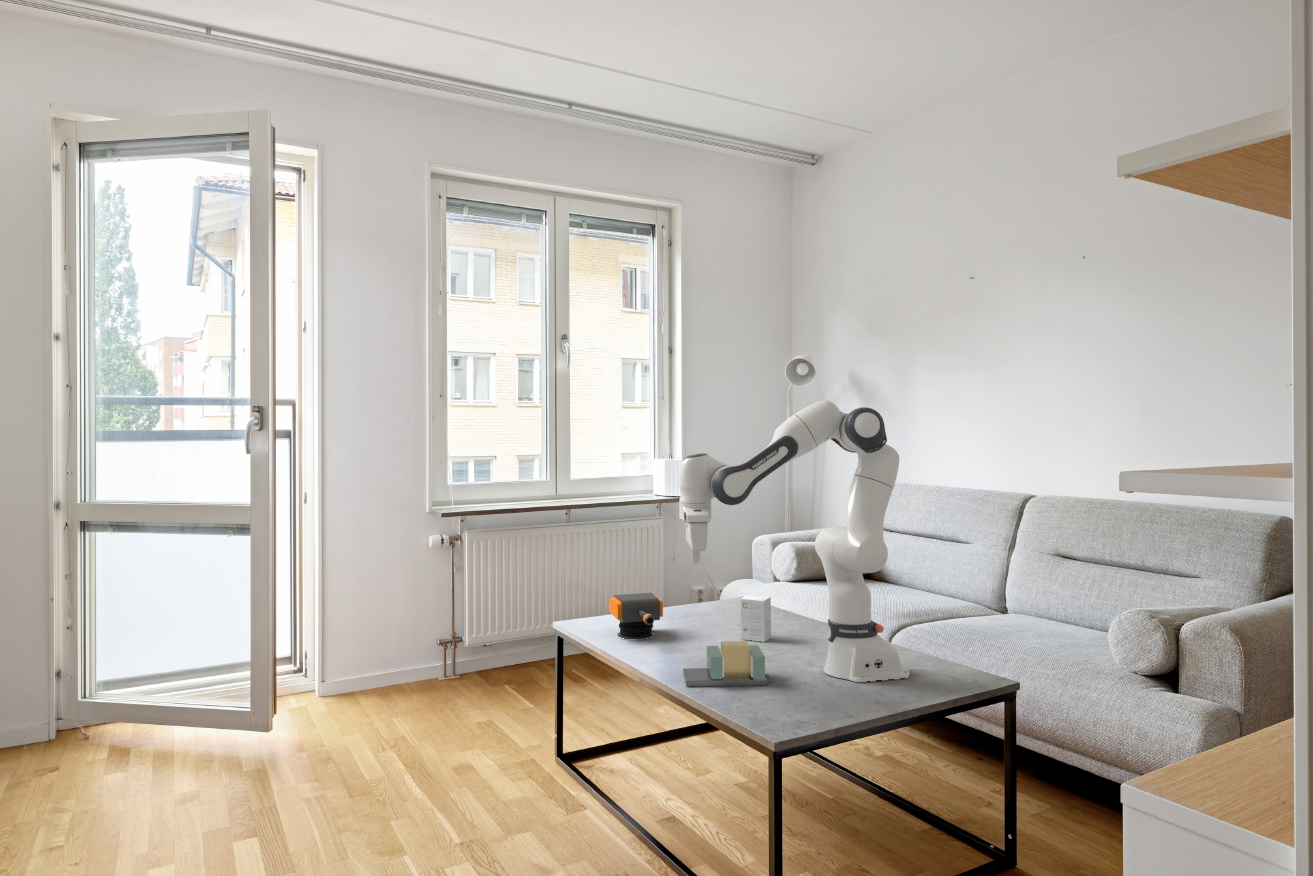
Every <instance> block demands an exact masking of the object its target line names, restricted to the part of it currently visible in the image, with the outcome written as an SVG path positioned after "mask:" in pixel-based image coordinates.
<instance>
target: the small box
mask: <svg viewBox="0 0 1313 876" xmlns="http://www.w3.org/2000/svg"><path fill="white" fill-rule="evenodd" d="M771 604H772V602H771V597H770V596H761V595H759V596H758V595H747V594H746V595H745V596H743V597H742V598H740V640H741V639H742V641H743V640H744V641H750V640H752V642H753V641H754V642H759V641H761V643H766V642H767V641H769V640H770V639H772V606H771ZM765 641H766V642H765Z"/></svg>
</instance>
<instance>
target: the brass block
mask: <svg viewBox="0 0 1313 876" xmlns="http://www.w3.org/2000/svg"><path fill="white" fill-rule="evenodd" d="M749 645H750V644H749V642H748V640H744V641H743V640H742V641H740V640H738V641H737V640H735V641H733V640H732V641H720V649H721V652H722V654H723V657H724V676H750V660H749Z"/></svg>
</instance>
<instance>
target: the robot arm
mask: <svg viewBox="0 0 1313 876" xmlns="http://www.w3.org/2000/svg"><path fill="white" fill-rule="evenodd" d="M885 425H886V424H885V421H884V419H883V416H882V415H881V414H880V412H878V411H877V410H875V409H874V408H872V407H865V406H864V407H863V406H862V407H857V408H855V409H853V410H852V411H850V412H849V413H845V412H842V411H841V410H840V409H839V407H838V406H837V404H835V403H834V402H832V401H830V400H826V399H821V400H819V401H817V402H814V403H812V404H810V405H808V406H806V407H804V408H802V409H801V410H799V411H797V412H796V413H794V414H793V415H791V416H789V417H788V418H787V419H785V420H784V421H783V422H782V423H781V424H780V425H779V426H778V427H776V429H775V430H774V433H773V436H772V439H771V441H770V443H769V444H767V446H766V447H765V448H763V449H762V450H760V451H759V452H758V453H756V454H755V455H753V456H752V457H751V458H749V459H748V460H746V461H744V463H741V464H738V465H734V466H733V465H729V464H726V463H723V462H721V461H719V460H717V459H715V458H713V457H712V456H710V455H709V454H708V453H703V452H702V453H695V454H690V455H688V456H687V455H686V456H685V457H684V458H683V459H682V460H681V462H680V465H679V477H678V481H679V482H678V486H679V490H680V498H679V500H678V501H679V503H678V504H679V506H678V507H679V509H678V510H679V513H678V515H679V516H678V517H679V520H682V521H683V525H684V526H685V541H686V542H687V544H688V546H690V552H691V562H692V563H693V564H694V565H695V564H699V563H700V555H701V552H704V551H706V549H707V544H708V543H707V542H708V530H709V524H708V523H711V520H712V500H713V499H715V498H716V500H717V501H719V502H720V503H722V504H724V505H728V506H736V505H739V504H741V503H743V502H744V501H745V500H746V499H747V498H748V497H749V495H750V494H751V492H752V491H753V489H754V488H755V487H756V485H757V484H758V483H759V482H760V481H762V480H763V479H765V478H766V477H767V476H769V475H770V474H772V473H773V472H774V471H776V470H777V469H779V468H780V467H782V466H783V465H785V464H787V463H789V462H791V461H794V460H796V459H798V458H800V457H803V456H804V455H806V454H807V453H810V452H812V451H813V450H815V449H816V448H818V447H819V446H821V445H822V444H823V443H825V442H827V441H829V440H832V442H834V443H835V444H836V445H838V446H839V447H840V448H841V449H842V450H845V451H846V452H847V453H848V452H849V453H856V454H857V467H856V469H855V471H854V474H853V477H852V480H851V483H850V485H849V488H848V491H847V494H846V496H845V500H844V506H845V508H846V511H847V522H846V527H845V526H831V527H827V528H824V529H822V530H821V531H820V532H819V533H818V534H817V536H816V538H815V540H814V550H815V552H816V554H817V556H818V557H819V559H820V561H821V564H822V567H823V569H824V575H825V578H826V583H827V589H828V604H829V605H828V607H829V609H828V610H829V611H828V612H829V614H828V615H829V618H828V619H827V629H826V631H827V640H828V646H827V654H826V659H825V663H824V666H823V669H822V670H823V672H824V673H825V674H827V675H829V676H831V677H835V678H838V679H844V680H847V681H848V680H849V681H853V682H854V683H855V682H856V683H867V681H870V682H877V681H876V680H882V681H889V680H888V679H894V680H901V679H900V678H906V679H909V678H910V676H909V675H910V670H909V669H908V668H907V667H906V666H905V665H903V664H902V663H901V658H900V654H899V652H898V650H897V649H896V647H894V646H893V645H892V644H890V642H889V641H887V640H886V639H885V638H883V637H882V636H880V635H879V633H880V634H881V633H883V632H884V630H885V627H884V626H883V625H882V624H881V623H877V622H875V621H874V620H872V594H871V593H872V592H871V590H870V588H869V586H868V585H867V583H866V582H865V579H864V576H863V574H871V573H877V572H879V571H881V570H883V568H884V566H885V565H886V563H887V561H888V557H889V552H888V551H889V550H888V547H887V544H886V543H885V540H884V523H885V522H884V521H885V516H886V511H887V509H888V506H889V505H888V504H889V502H890V500H891V496H892V493H893V490H894V488H895V484H896V481H897V477H898V472H899V465H900V459H901V458H900V455H899V454H900V453H899V452H898V451H897V450H896V449H895V448H894V447H893V446H890V445H889V444H887V442H888V437H887V432H886V426H885ZM908 677H909V678H908Z"/></svg>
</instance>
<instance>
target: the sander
mask: <svg viewBox="0 0 1313 876" xmlns="http://www.w3.org/2000/svg"><path fill="white" fill-rule="evenodd" d="M608 603H609V604H608V612H609V613H611V615H612V616H613V617H614V618H615V619H616V620H617V621H619V623H618V628H619V632H617V635H618V636H617V637H618V638H619V637H621V638H620V639H622V638H624V639H623V640H626V639H644V640H647V639H646V638H649V639H651V638H650V637H652V638H654V637H655V633H654V631H653V628H654V623H655V621H660V620H661V618H663V617H664V603H663V599H662V598H660V597H659V596H658V595H655V594H653V593H652V592H643V593H642V592H641V593H640V592H639V593H627V594H614V595H613V596H612V597H610V598H609V602H608ZM653 636H654V637H653Z"/></svg>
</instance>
